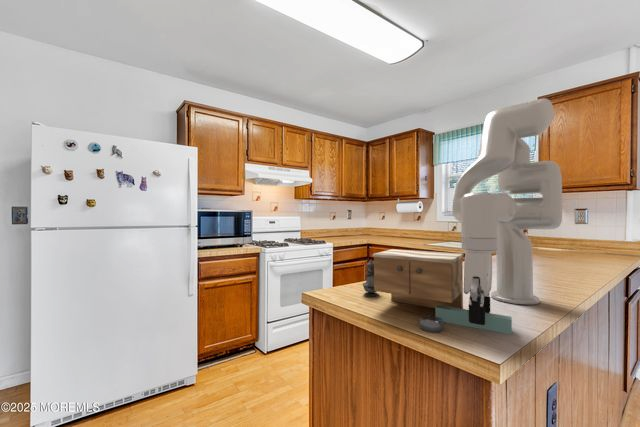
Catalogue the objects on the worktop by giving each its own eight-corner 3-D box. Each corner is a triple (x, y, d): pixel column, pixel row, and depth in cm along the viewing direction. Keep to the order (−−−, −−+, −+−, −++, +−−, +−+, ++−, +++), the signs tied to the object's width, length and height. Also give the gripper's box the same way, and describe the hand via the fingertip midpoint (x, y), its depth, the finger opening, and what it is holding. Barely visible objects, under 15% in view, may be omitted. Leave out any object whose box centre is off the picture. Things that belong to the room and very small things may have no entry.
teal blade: (437, 318, 76) (437, 305, 76) (511, 332, 67) (511, 316, 67) (435, 321, 74) (435, 307, 74) (511, 335, 65) (511, 319, 65)
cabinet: (393, 298, 93) (392, 249, 93) (464, 310, 81) (463, 253, 81) (371, 311, 81) (371, 254, 81) (452, 327, 69) (451, 260, 69)
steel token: (425, 323, 72) (425, 314, 72) (446, 329, 68) (446, 318, 68) (416, 329, 68) (416, 319, 68) (438, 335, 65) (438, 324, 65)
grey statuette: (362, 297, 95) (362, 260, 95) (362, 292, 101) (362, 257, 101) (380, 297, 94) (380, 260, 94) (380, 293, 100) (379, 258, 100)
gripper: (468, 241, 79) (468, 305, 78) (454, 247, 65) (455, 325, 64) (500, 243, 74) (501, 310, 74) (493, 249, 60) (494, 333, 60)
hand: (480, 317), depth 69 cm, fingers open, 9 cm apart
